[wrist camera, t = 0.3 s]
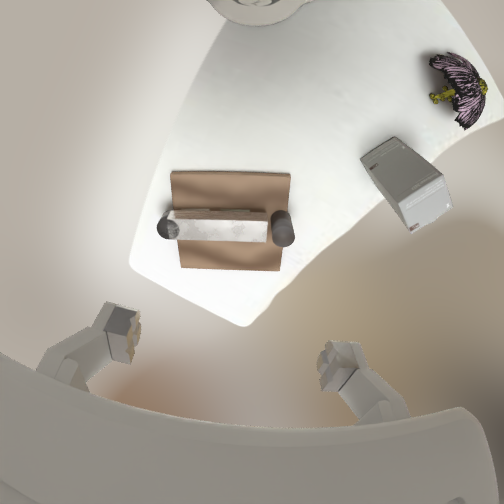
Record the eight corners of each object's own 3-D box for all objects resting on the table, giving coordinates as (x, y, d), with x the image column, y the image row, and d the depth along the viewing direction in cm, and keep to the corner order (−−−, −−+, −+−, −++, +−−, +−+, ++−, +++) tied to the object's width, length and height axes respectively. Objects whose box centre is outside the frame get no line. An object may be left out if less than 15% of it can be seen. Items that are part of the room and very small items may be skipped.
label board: (172, 171, 45) (159, 189, 39) (294, 174, 46) (301, 192, 40) (182, 263, 57) (175, 288, 51) (282, 266, 58) (286, 292, 52)
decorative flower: (510, 124, 27) (476, 134, 26) (466, 125, 38) (424, 137, 37) (485, 46, 22) (442, 37, 21) (443, 58, 34) (395, 57, 33)
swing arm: (266, 212, 47) (267, 221, 44) (265, 232, 49) (266, 242, 47) (160, 210, 46) (155, 219, 44) (163, 229, 49) (158, 239, 46)
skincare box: (394, 135, 41) (444, 167, 28) (409, 166, 44) (457, 207, 31) (356, 159, 44) (396, 200, 31) (374, 189, 47) (413, 238, 34)
